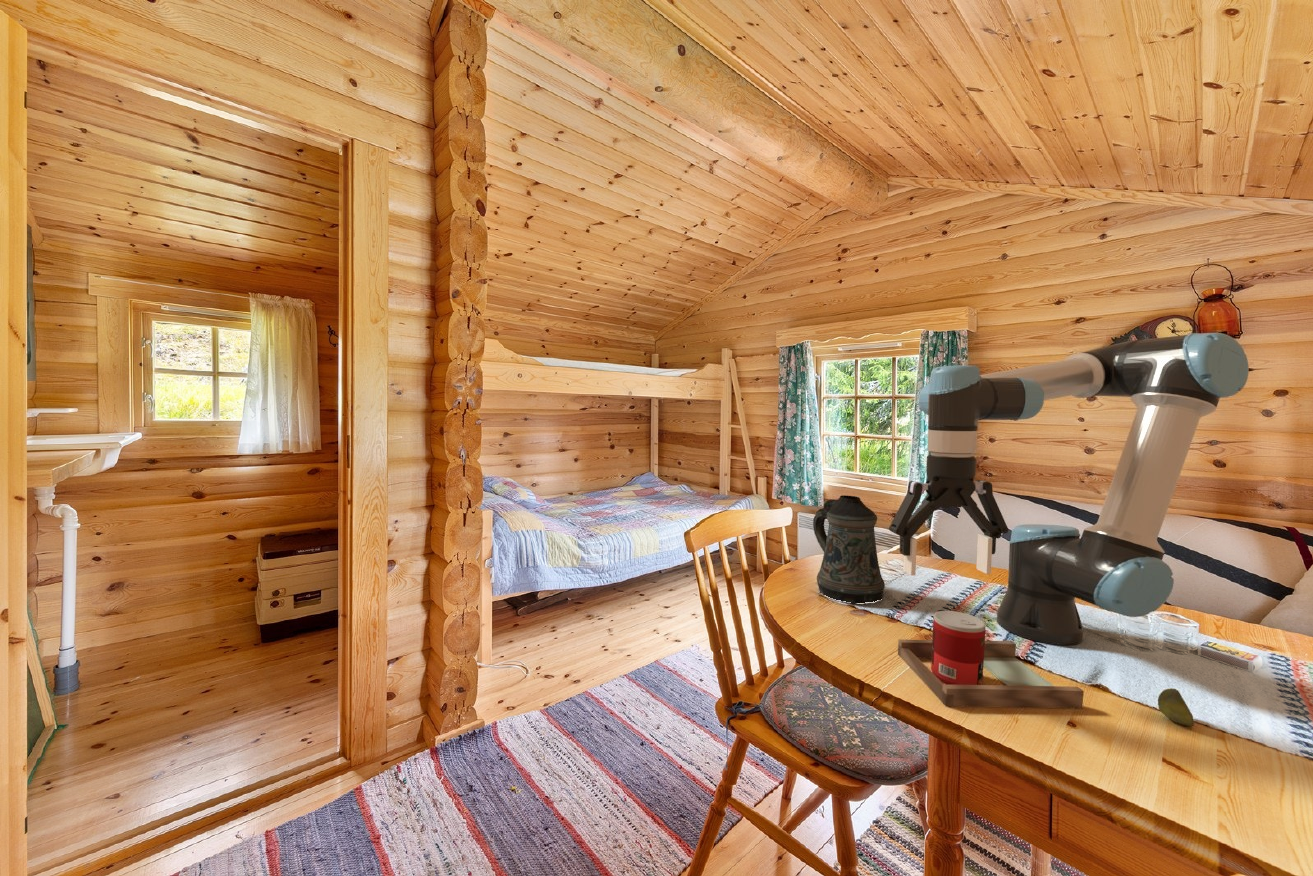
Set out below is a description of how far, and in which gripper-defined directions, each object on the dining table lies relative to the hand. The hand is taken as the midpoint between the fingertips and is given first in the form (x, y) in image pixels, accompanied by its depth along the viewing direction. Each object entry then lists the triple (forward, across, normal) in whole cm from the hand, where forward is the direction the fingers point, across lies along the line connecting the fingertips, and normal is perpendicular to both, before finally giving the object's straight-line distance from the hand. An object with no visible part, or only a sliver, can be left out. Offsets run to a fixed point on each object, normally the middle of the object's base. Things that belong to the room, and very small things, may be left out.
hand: (946, 572), depth 90 cm
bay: (+19, -6, +1) cm, 20 cm away
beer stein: (+19, +1, -41) cm, 45 cm away
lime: (+20, -29, +14) cm, 38 cm away
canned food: (+19, -2, +1) cm, 20 cm away
